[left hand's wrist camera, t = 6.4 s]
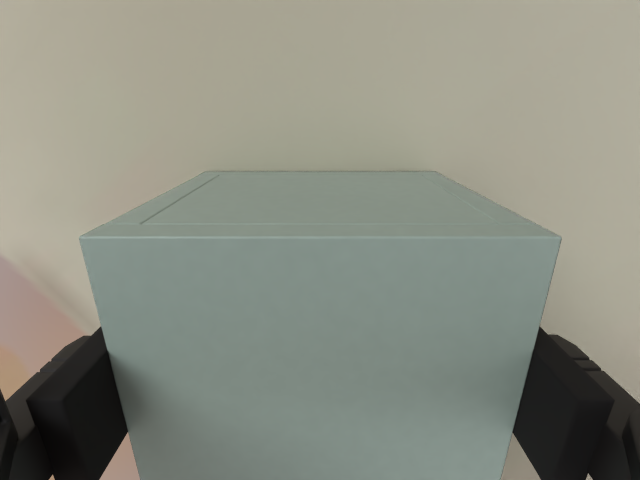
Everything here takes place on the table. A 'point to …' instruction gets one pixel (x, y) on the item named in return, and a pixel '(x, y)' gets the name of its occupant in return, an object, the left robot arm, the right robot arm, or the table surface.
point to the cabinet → (320, 325)
